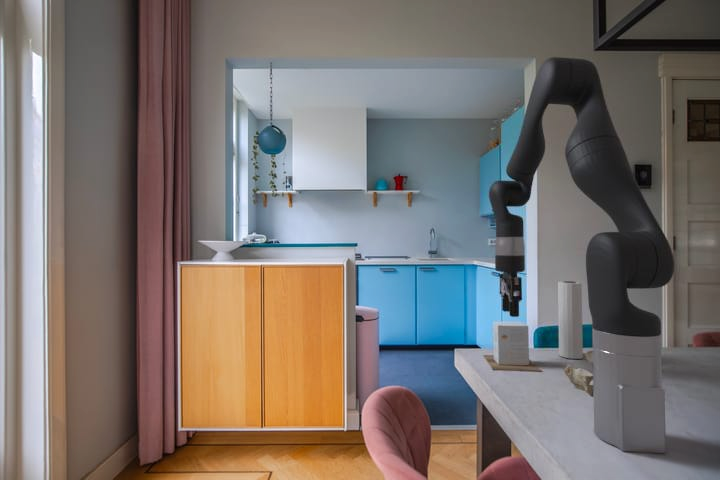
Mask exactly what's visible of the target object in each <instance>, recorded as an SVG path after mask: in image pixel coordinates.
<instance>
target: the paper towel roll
mask: <svg viewBox="0 0 720 480" xmlns="http://www.w3.org/2000/svg"><path fill="white" fill-rule="evenodd" d="M557 286H558V287H557V297H558V298H557V299H558V300H557V301H558V302H557V303H558V305H557V306H558V307H557V308H558V312H557V313H558V315H557V316H558V356H560V357H561V358H565V359H570V360H581V359H583V357H584V356H583V355H584V353H583V351H584V349H583V348H584V347H583V346H584V344H583V294H582V293H583V290H582V289H583V288H582V287H583V285H582V282H579V281H578V282H577V281H572V280H571V281H570V280H569V281H567V280H566V281H558V282H557Z"/></svg>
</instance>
